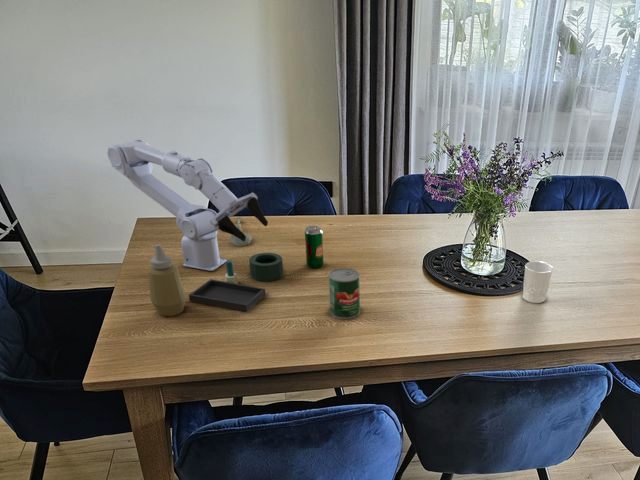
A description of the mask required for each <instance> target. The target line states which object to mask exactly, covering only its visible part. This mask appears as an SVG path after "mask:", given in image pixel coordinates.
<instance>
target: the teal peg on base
mask: <svg viewBox="0 0 640 480" xmlns="http://www.w3.org/2000/svg"><path fill="white" fill-rule="evenodd" d="M225 265H226V273H225V274H224V280H225V281H224V282H230V283H235V284H239V280H238V274H237V273H235V272H234V265H233V261H232V260H231V259H228V260H227V259H226V262H225Z"/></svg>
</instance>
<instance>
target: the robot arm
mask: <svg viewBox="0 0 640 480" xmlns="http://www.w3.org/2000/svg"><path fill="white" fill-rule="evenodd" d="M149 144H150V143H148V141H146V140H145V141H144V140H142V139H135V140H132V141H128V142H123V143H117V144H109V146H108V147H107V158H108V160H109V162H110V165H111V167H112V168H114V170H116V171H117V172H119V173H120V174H121V175H122V176H124V177H126V178H127V180H128V181H129V182H130V183H131V184H132V185H133V186H135V188H137V189H138V190H140V191H141V192H142V193H144V194H145V195H146V196H148V197H149V198H150V199H151V200H153V201H154V202H156V203H157V204H159V205H160V206H161V207H162V208H164V209H165V210H166V211H168V212H169V213H170V214H172V216H175V217H176V221H175V222H176V223H175V224H176V227H177V228H178V229H180V230H181V231H182V234H184V235H183V236H182V238H181V240H180V241H181V242H180V247H181V254H182V257H183V264H182V266H183V267H184V268H189V269H190V268H191V269H195V270H202V271H203V270H204V271H209V272H213V271H215V270H216V269H218V268H219V267H221V266H222V265H223V264H226V261H227V259H226V258H221V257H220V250H219V243H218V235H219V231H221V232H222V233H226V234H230V235H234V236H236V237H238V238H239V239H241V240H242V241H245V240H246V236H245V235H244V234H243V233H242V232H243V231H242V230H241V231H240V230H239V229H238V226H236V224H235V223H234V222H233V221H232V220H231V217H233V216H235V215H236V214H237V213H239V212H241V211H242V210H244V209H246V208H247V209H248V213H249V214H250V215H252V216H253V217H255V218H256V219H257V221H259V222H260V223H261V224H262V226H263V227H267V226H268V225H269V222H268V219H267V218H266V216H265V215H264V213H263V211H262V209H261V207H260V205H259V201H258V199H259V198H258V196H257V194H256V193H254V192H253V191H252V192H250V193H249V194H246V195H244V196H242V197H239V198H238V197H236V195H235V194H234V193H233V192H232V191H231V190H230V189H229V188H228V187H227V186H226V184H224V183H222V181H221V180H220V179H219V178H218V177H217V176H216V175H214V173H213V169H212V166H211V164H210V163H209V162H208V161H207V160H205V159H204V158H202V157H201V158H198V159H193V158H192V157H190V156H185V155H182V154H179V152H178V151H176V150H172V151H168V152H166V153H165V152H163V151H161V150H160V149H157V148H155V147H153V146H151V145H149ZM153 164H155V165H158V166H161V167H162V169H163V170H164V171H165V172H166V173H168V174H171V175H174V176H176V177H179V178H182V180H183V182H184V184H185V185H187V186H189V187H192V188H194V189H195V190H197V191H199V192H200V193H202V195H203V196H204V197H205V198H207V199H208V201H210V202H211V203H212V205H214V206H215V208H216V209H217V210H218V213H217V212H216V211H215V210H213V209H212V208H207V207H206V206H204V205H201V204H194V203H190V202H189V201H188V200H187V199H185V198H184V197H182V195H180V194H178V193H177V192H176V191H175V190H173V189H172V188H170V187H169V186H168V185H166V184H165V183H164V182H162V181H161V180H160V179H158V178H157V177H155V176H154V175H153V174H152V173H153V171H154V165H153Z"/></svg>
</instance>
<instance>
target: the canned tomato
mask: <svg viewBox="0 0 640 480" xmlns="http://www.w3.org/2000/svg"><path fill="white" fill-rule="evenodd" d="M360 275H361V274H360V272H359V271H358V270H356V269H354V268H349V267H339V268H335V269H332V270H331V271H329V273H328V288H329V289H328V290H329V291H328V293H329V314H330V315H331V316H332V317H334V318H335V319H339V320H350V319H353V318H356V317H358V316H359V315H360V313H361V302H360V301H361V298H360V297H361V293H360V292H361V291H360V290H361V289H360V287H361V286H360V285H361V283H360V282H361V280H360V279H361V277H360Z"/></svg>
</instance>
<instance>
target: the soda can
mask: <svg viewBox="0 0 640 480" xmlns="http://www.w3.org/2000/svg"><path fill="white" fill-rule="evenodd" d="M323 238H324V236H323V230H322V228H321V226H318V225H308V226H306V227H305V230H304V243H305V244H304V245H305V260H306V262H305V263H306V266H307V267H308V268H310V269H320V268H322V267H324V262H325V261H324V240H323Z"/></svg>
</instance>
